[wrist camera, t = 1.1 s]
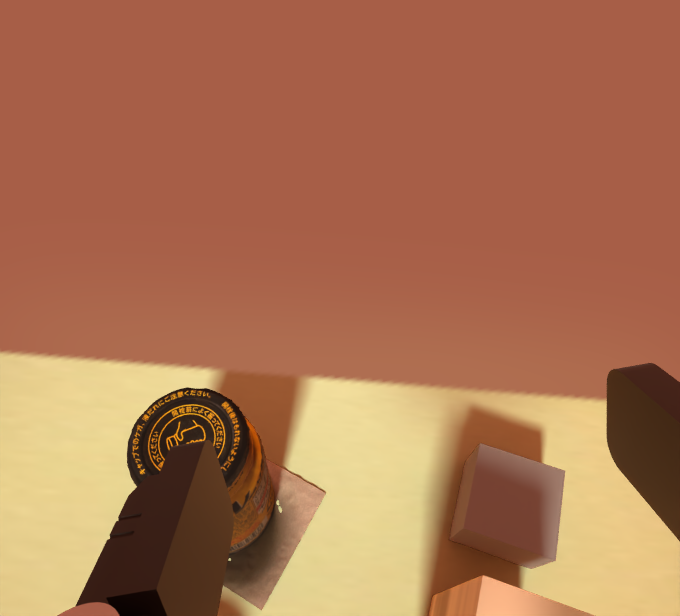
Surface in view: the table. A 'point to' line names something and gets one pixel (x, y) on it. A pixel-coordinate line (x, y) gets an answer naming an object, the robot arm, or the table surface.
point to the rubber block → (509, 507)
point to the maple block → (495, 601)
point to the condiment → (232, 483)
